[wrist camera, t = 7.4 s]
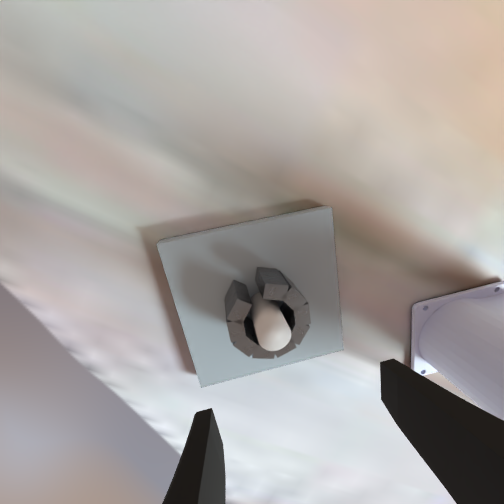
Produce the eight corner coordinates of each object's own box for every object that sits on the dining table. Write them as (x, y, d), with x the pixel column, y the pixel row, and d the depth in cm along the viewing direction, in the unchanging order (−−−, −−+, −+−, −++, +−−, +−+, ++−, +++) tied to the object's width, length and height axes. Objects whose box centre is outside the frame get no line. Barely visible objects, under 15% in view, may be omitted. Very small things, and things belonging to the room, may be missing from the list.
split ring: (290, 259, 18) (305, 274, 15) (298, 324, 19) (313, 349, 16) (218, 274, 17) (219, 293, 14) (233, 339, 19) (236, 368, 16)
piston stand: (324, 205, 18) (366, 215, 13) (336, 341, 22) (373, 388, 17) (160, 239, 17) (138, 264, 12) (201, 376, 21) (198, 437, 16)
